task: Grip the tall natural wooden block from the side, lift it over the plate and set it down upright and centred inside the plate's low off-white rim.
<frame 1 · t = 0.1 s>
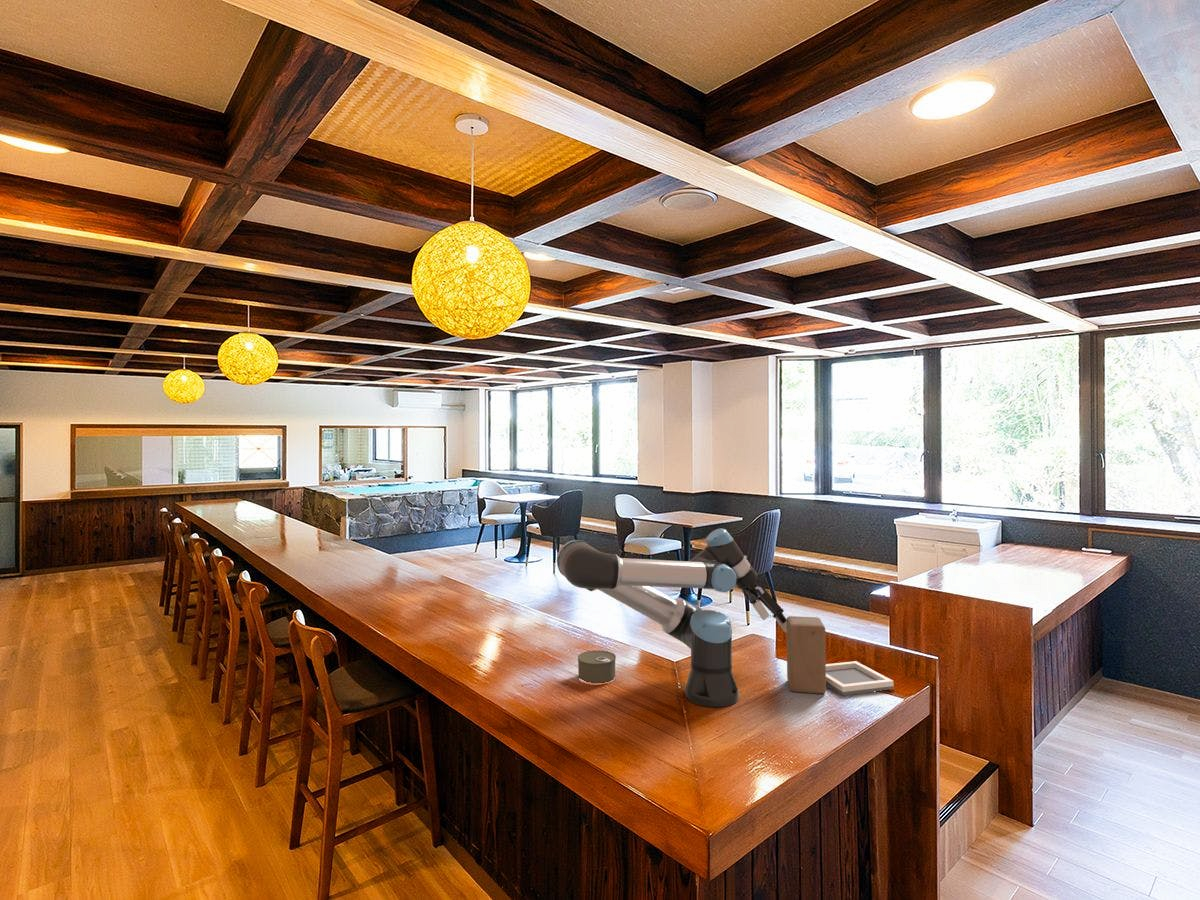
hand: (776, 623, 191), 15 cm above the bar counter, tool tilted 35°, fingers open, 13 cm apart
can: (596, 679, 187), on the bar counter
wooden block: (806, 687, 178), on the bar counter
locating plate: (849, 682, 181), on the bar counter
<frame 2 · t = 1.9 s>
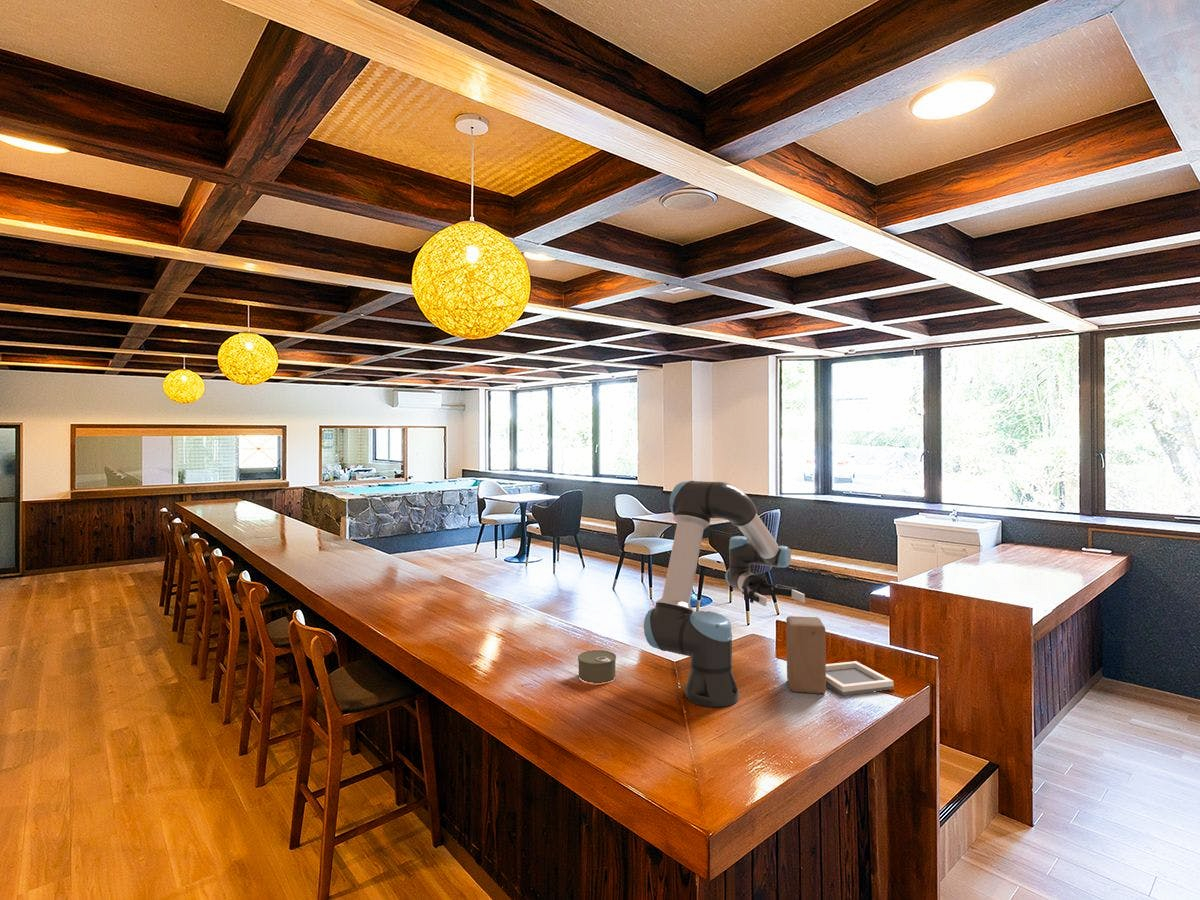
hand: (784, 600, 189), 23 cm above the bar counter, tool horizontal, fingers open, 13 cm apart
nothing on the bar counter moved.
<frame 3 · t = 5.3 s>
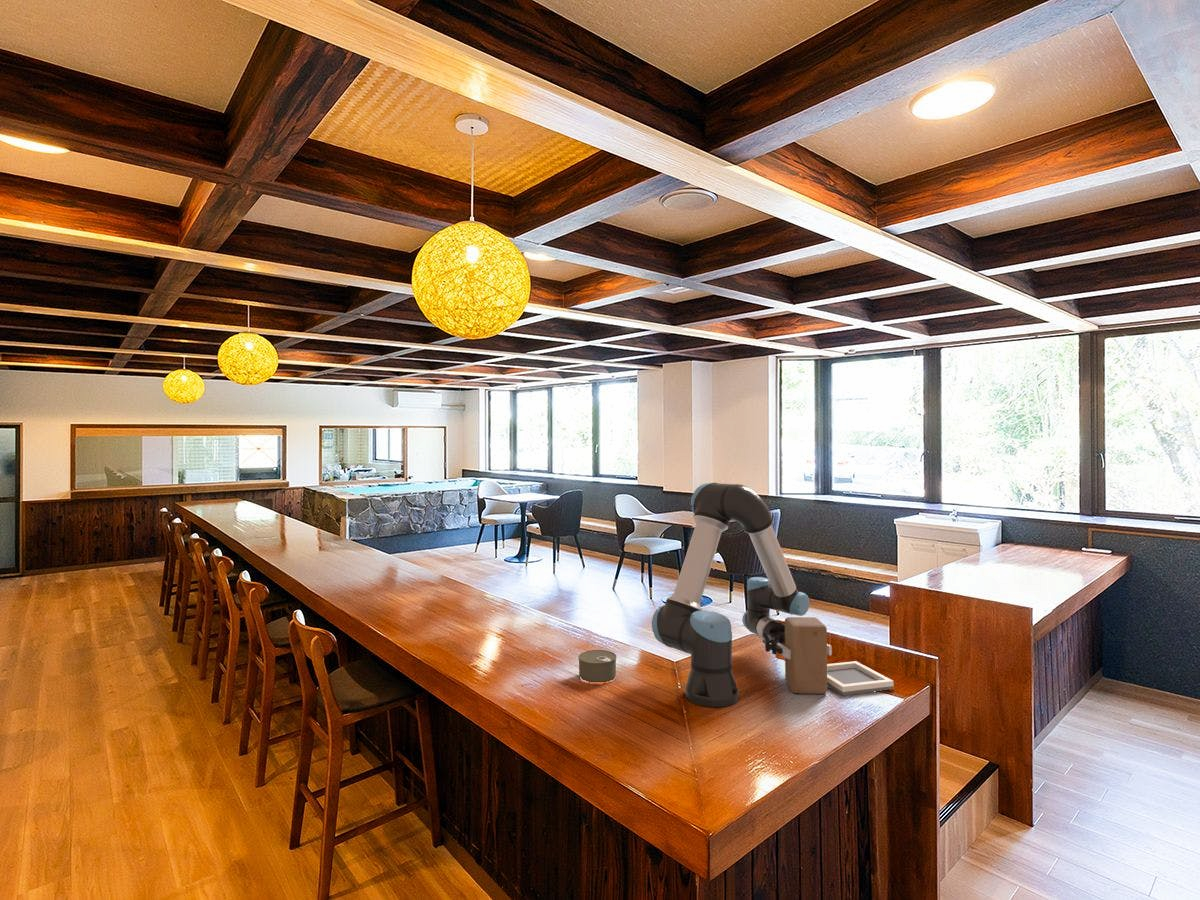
hand: (810, 652, 176), 11 cm above the bar counter, tool horizontal, fingers open, 13 cm apart
wooden block: (805, 688, 177), on the bar counter, touching gripper
everything else where it was.
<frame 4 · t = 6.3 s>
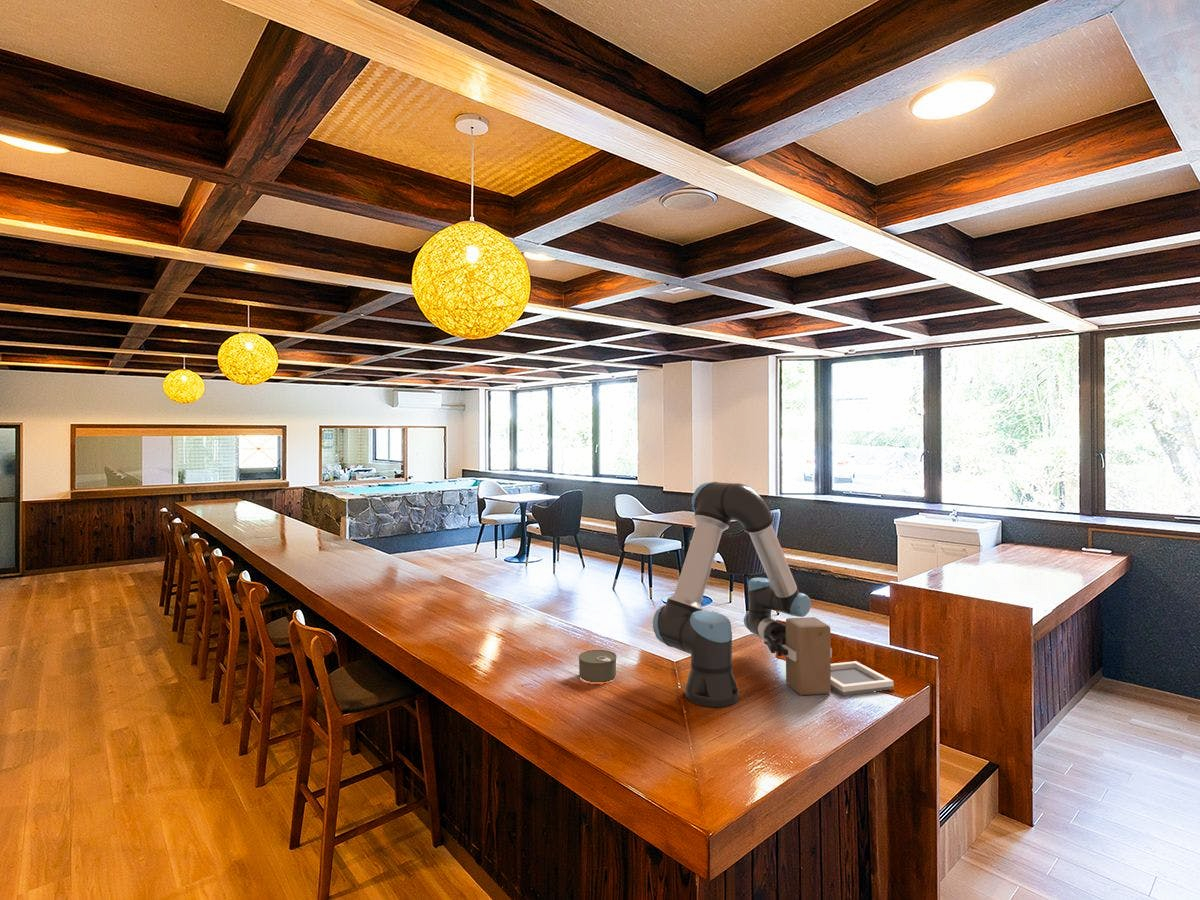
hand: (813, 654, 174), 11 cm above the bar counter, tool horizontal, fingers closed on wooden block, 11 cm apart
wooden block: (807, 689, 177), on the bar counter, touching gripper
everything else where it was.
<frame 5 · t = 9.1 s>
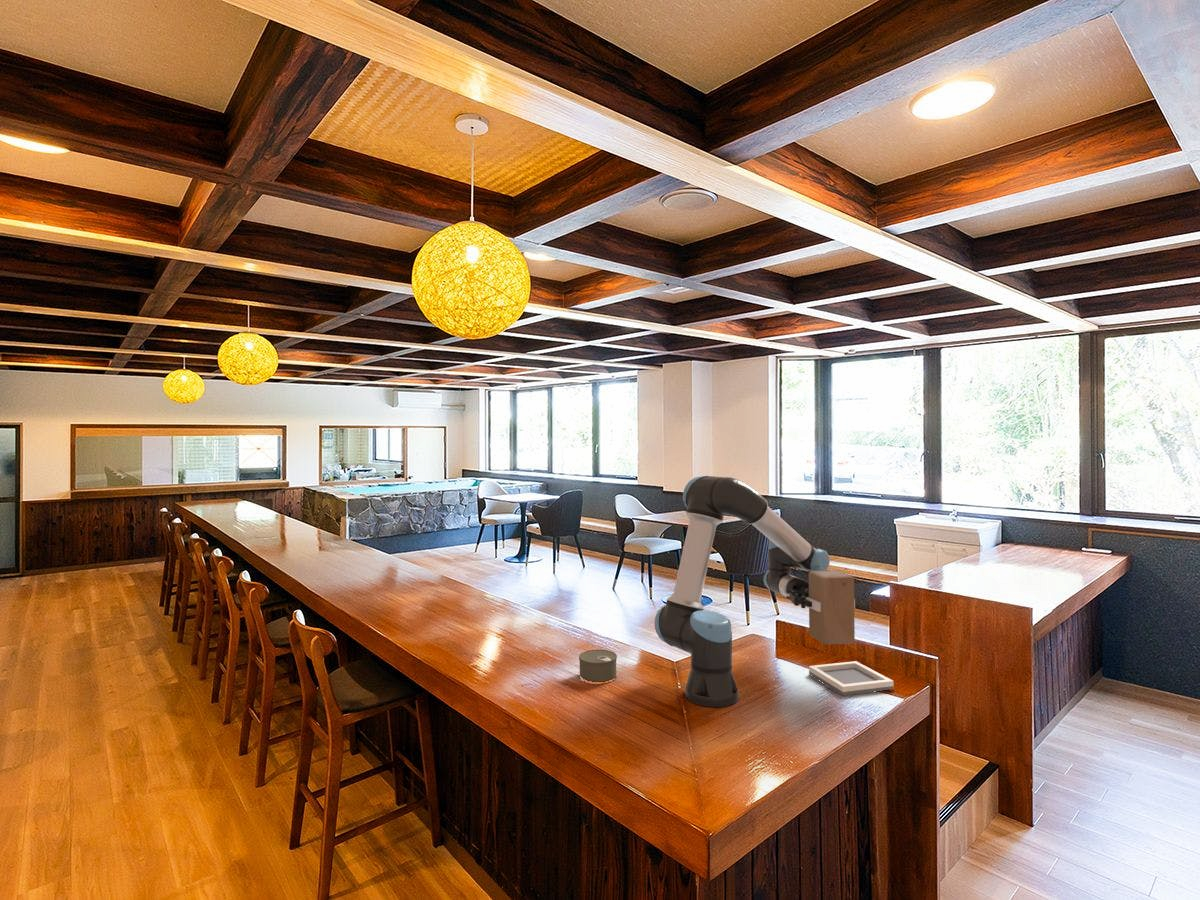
hand: (837, 605, 176), 25 cm above the bar counter, tool horizontal, fingers closed on wooden block, 11 cm apart
wooden block: (831, 640, 179), point 14 cm above the bar counter, touching gripper
everything else where it was.
when the fingers open (14 cm above the bar counter, at t = 12.2 s): wooden block drops 1 cm, resting on locating plate.
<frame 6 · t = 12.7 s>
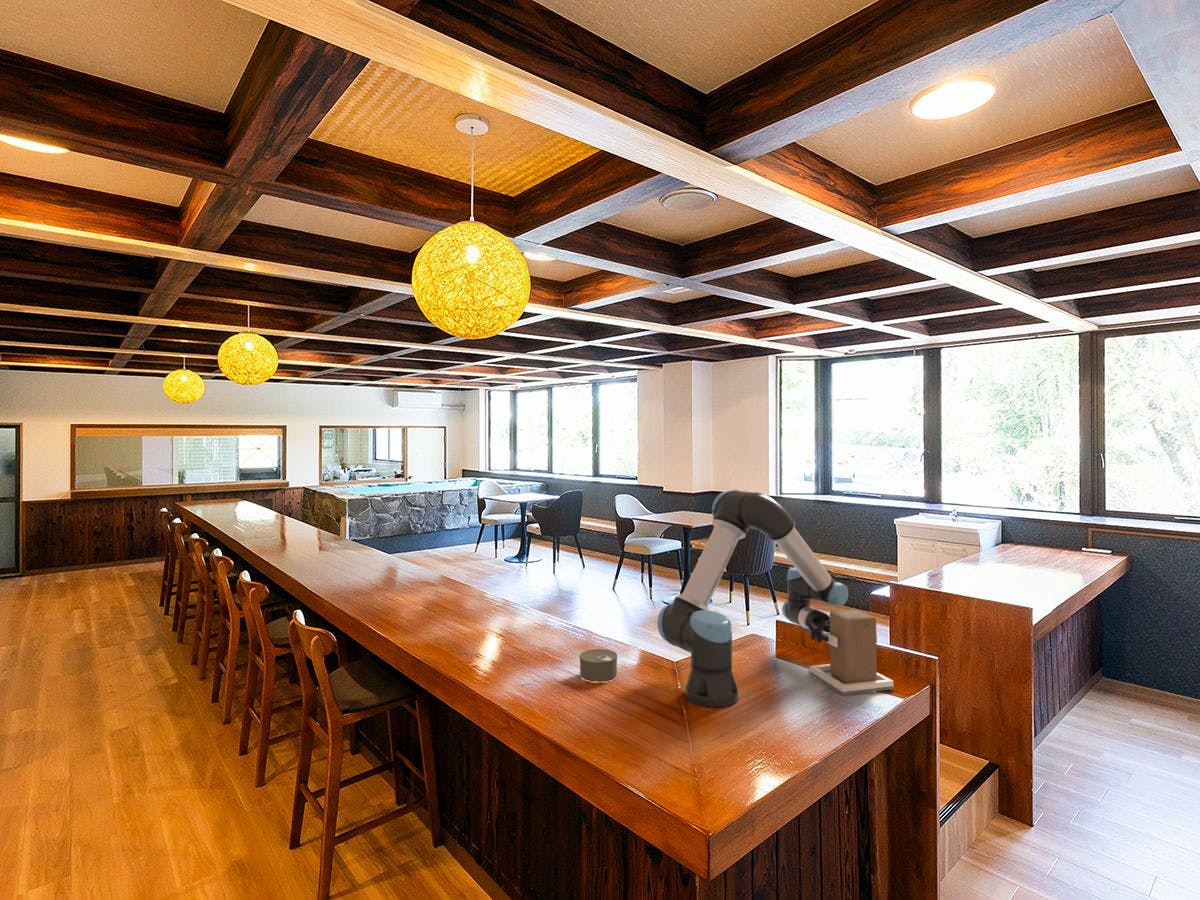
hand: (856, 640, 178), 14 cm above the bar counter, tool horizontal, fingers open, 13 cm apart
wooden block: (853, 680, 180), point 1 cm above the bar counter, touching locating plate
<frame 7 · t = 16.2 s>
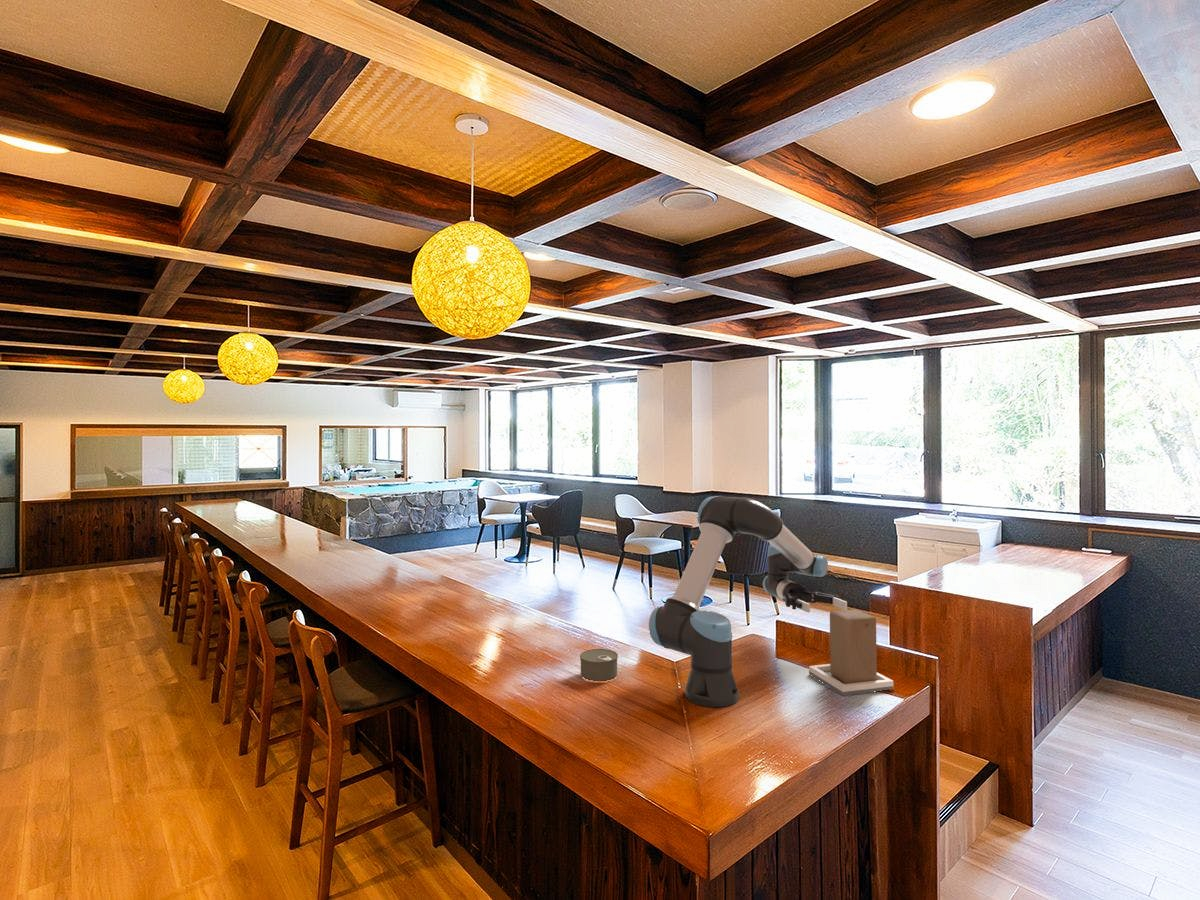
hand: (827, 607, 192), 20 cm above the bar counter, tool horizontal, fingers open, 13 cm apart
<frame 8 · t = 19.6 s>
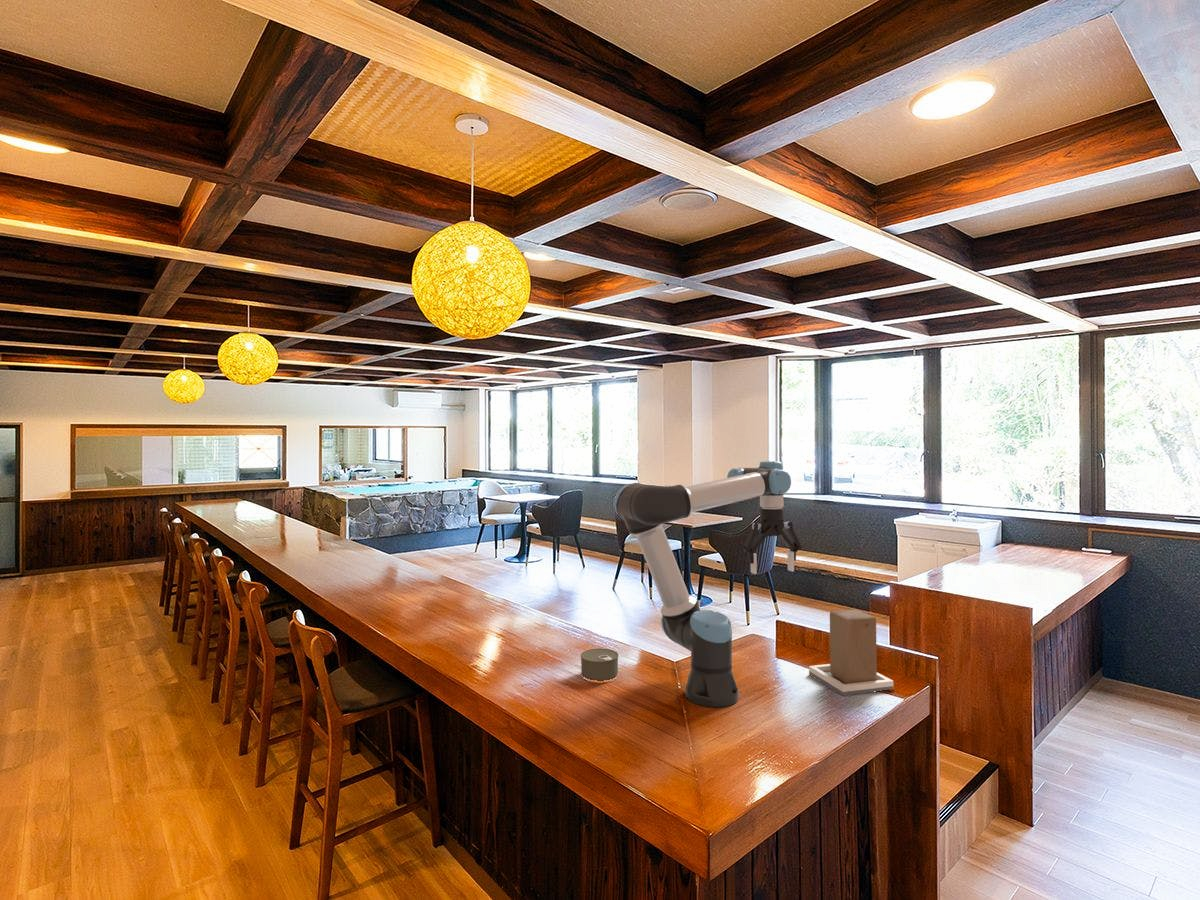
hand: (772, 572, 196), 31 cm above the bar counter, tool pointing down, fingers open, 13 cm apart
at the end: wooden block 1.2 cm off-centre on the locating plate, point 1.0 cm above the locating plate's base; wooden block tilted 0°; the gripper is holding nothing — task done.
